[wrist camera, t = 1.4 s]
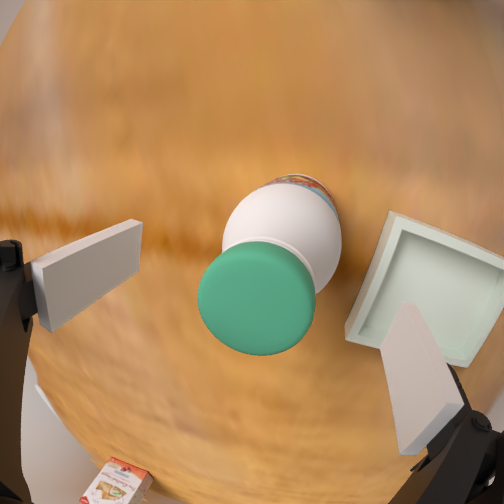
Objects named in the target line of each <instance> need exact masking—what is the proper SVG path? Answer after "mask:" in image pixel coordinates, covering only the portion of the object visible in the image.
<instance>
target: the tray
mask: <svg viewBox="0 0 504 504" xmlns="http://www.w3.org/2000/svg"><path fill="white" fill-rule="evenodd" d="M403 301H405V302H408V303H412V304H415V305H417V307H418V309H419V311H420V313H421V314H422V316H423V318H424V320H425V322H426V324H427V326H428V327H429V329H430V331H431V333H432V335H433V337H434V339H435V341H436V343H437V345H438V347H439V349H440V351H441V353H442V355H443V357H444V359H445V361H446V363H448V364H450V365H455V366H460V367H466V368H468V366H469V365H470V363H471V362H472V360H473V359H474V357H475V356H476V354H477V353H478V351H479V349H480V348H481V346H482V345H483V343H484V341H485V340H486V338H487V336H488V335H489V333H490V331H491V329H492V328H493V326H494V324H495V322H496V320H497V319H498V317H499V315H500V313H501V311H502V309H503V307H504V257H502V256H500V255H498V254H496V253H494V252H492V251H490V250H487V249H485V248H483V247H481V246H479V245H476V244H474V243H472V242H470V241H467V240H465V239H463V238H460V237H458V236H456V235H453V234H451V233H449V232H446V231H444V230H441V229H439V228H436V227H434V226H431V225H429V224H426V223H424V222H421V221H418V220H416V219H413V218H410V217H408V216H405V215H402V214H400V213H397V212H394V211H391V210H389V212H388V215H387V218H386V221H385V224H384V227H383V230H382V233H381V236H380V239H379V241H378V244H377V247H376V250H375V252H374V255H373V258H372V260H371V263H370V266H369V268H368V271H367V273H366V276H365V278H364V281H363V283H362V286H361V288H360V291H359V293H358V295H357V298H356V300H355V303H354V305H353V307H352V309H351V312H350V314H349V316H348V318H347V321H346V323H345V325H344V327H345V340H346V341H350V342H354V343H358V344H362V345H366V346H370V347H374V348H378V349H380V346H381V344H382V342H383V340H384V338H385V336H386V334H387V332H388V331H389V329H390V327H391V325H392V323H393V321H394V319H395V317H396V315H397V313H398V311H399V308H400V306H401V304H402V302H403Z"/></svg>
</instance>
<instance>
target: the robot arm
mask: <svg viewBox="0 0 504 504" xmlns="http://www.w3.org/2000/svg"><path fill="white" fill-rule="evenodd" d="M142 228H143V222H139V221H136V220H133V219H130V220H127V221H125V222H122V223H119V224H117V225H114V226H112V227H109V228H107V229H104V230H102V231H99V232H97V233H94V234H92V235H89V236H87V237H84V238H82V239H80V240H77V241H75V242H73V243H70V244H68V245H66V246H63V247H61V248H59V249H57V250H54V251H52V252H50V253H48V254H45V255H43V256H41V257H39V258H37V259H35V260H32V261H30V262H28V263H26V264H24V262H23V252H22V244H21V242H19V241H17V240H4V241H0V504H34V503H32V502H31V496H30V492H29V488H28V485H27V483H26V481H25V479H24V477H23V473H22V467H21V408H22V393H23V384H24V375H25V367H26V360H27V354H28V348H29V342H30V337H31V332H32V327H33V318H32V316H33V315H34V314H36V313H37V312H38V317H39V322H40V325H41V326H42V327H44V328H45V329H47V330H48V331H50V332H51V333H53V332H54V331H55V330H57V329H58V328H59V327H61V326H62V325H64V324H65V323H66V322H68V321H69V320H70V319H72V318H73V317H74V316H76V315H77V314H79V313H80V312H81V311H83V310H84V309H86V308H87V307H88V306H90V305H91V304H93V303H94V302H95V301H97V300H98V299H100V298H101V297H102V296H104V295H105V294H107V293H108V292H110V291H111V290H112V289H114V288H115V287H117V286H118V285H120V284H121V283H123V282H124V281H126V280H127V279H128V278H130V277H131V276H133V275H134V274H136V273H137V272H139V263H140V250H141V239H142ZM380 351H381V356H382V360H383V364H384V369H385V374H386V378H387V383H388V388H389V393H390V399H391V404H392V410H393V416H394V422H395V428H396V435H397V442H398V449H399V455H414V456H416V455H417V454H419V453H420V452H421V451H422V450H423V449H424V448H425V447H426V446H427V450H428V455H426V456H425V457H424V458H423V459H422V460H421V461H420V462H419V463H418V464H416V465H415V466H414V467H413V468H412V469H411V470H410V471H411V472H412V471H413V470H414V472H413V473H412V474H411V476H410V477H409V478H408V480H407V481H406V482H405V484H404V485H403V486H402V487H401V489H400V490H399V491H398V492H397V494H396V495H395V496H394V497H393V498H392V500H391V501H390V502H389V503H388V504H504V431H503V432H502V433H499V432H496V431H494V430H492V427H491V423H490V421H489V420H488V418H487V417H486V416H485V415H484V414H482V413H481V412H479V411H475V410H472V409H471V406H470V404H469V401H468V399H467V397H466V394H465V392H464V390H463V389H462V385H461V383H460V382H459V379H458V376H457V374H456V372H455V371H454V370H453V368H452V367H451V366H450V365H449V364H448V363H446V361H445V359H444V357H443V355H442V353H441V351H440V349H439V347H438V345H437V343H436V341H435V339H434V337H433V335H432V333H431V331H430V329H429V327H428V326H427V324H426V322H425V320H424V318H423V316H422V314H421V313H420V311H419V309H418V307H417V305H415V304H412V303H408V302H405V301H403V302H402V304H401V306H400V308H399V311H398V313H397V315H396V317H395V319H394V321H393V323H392V325H391V327H390V329H389V331H388V332H387V334H386V336H385V338H384V340H383V342H382V344H381V346H380ZM494 476H495V478H494V481H493V483H492V484H491V485H489V486H488V484H489V480H490V479H491V478H492V477H494Z"/></svg>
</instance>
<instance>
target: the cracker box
mask: <svg viewBox="0 0 504 504" xmlns="http://www.w3.org/2000/svg"><path fill="white" fill-rule="evenodd" d="M153 480H154V479H153V478H152V477H151V475H150V474H149V473H148V471H145V470H142V469H139V468H137V467H134V466H132V465H129V464H127V463H125V462H122V461H120V460H118V459H116V458H113V457H111V458H110V459H109V461H108V462H107V463H106V465H105V466H104V467H103V469H102V470H101V471H100V473H99V474H98V476H97V477H96V478H95V480H94V481H93V482H92V484H91V485H90V486H89V488H88V489H87V490H86V492H85V493H84V495H83V496H82V497H81V499H80V500H79V501H80V502H81V503H82V504H140V503H141V501H142V499H143V498H144V496H145V494H146V492H147V491H148V489H149V487H150V486H151V484H152V482H153Z"/></svg>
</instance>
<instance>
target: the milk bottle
mask: <svg viewBox="0 0 504 504" xmlns="http://www.w3.org/2000/svg"><path fill="white" fill-rule="evenodd" d="M341 247H342V238H341V228H340V223H339V219H338V214H337V211H336V207H335V204H334V201H333V198H332V196H331V194H330V193H329V191H328V190H327V188H326V187H325V186H324V185H323V184H322V183H321V182H319V181H318V180H316V179H315V178H312V177H310V176H307V175H303V174H289V175H284V176H281V177H279V178H277V179H275V180H273V181H271V182H269V183H267V184H265V185H263V186H261V187H260V188H258V189H256V190H255V191H253V192H252V193H251V194H249V195H248V196H247V197H246V198H244V199H243V200H242V201H241V202H240V203H239V205H238V206H237V207H236V208H235V210H234V211H233V213H232V214H231V216H230V218H229V220H228V222H227V225H226V228H225V231H224V236H223V246H222V250H223V252H222V254H220V255H219V256H218V257H217V258H216V259H215V260H214V261H213V262H212V263H211V265H210V266H209V267H208V268H207V270H206V271H205V273H204V275H203V277H202V279H201V282H200V285H199V289H198V307H199V311H200V314H201V317H202V319H203V321H204V323H205V325H206V326H207V328H208V329H209V330H210V332H211V333H212V334H213V335H214V336H215V337H216V338H217V339H218V340H220V341H221V342H222V343H224V344H225V345H227V346H228V347H230V348H232V349H234V350H236V351H239V352H242V353H245V354H250V355H258V356H266V355H273V354H278V353H281V352H284V351H286V350H288V349H290V348H291V347H293V346H294V345H296V344H297V343H298V342H299V341H300V340H301V339H302V338H303V337H304V335H305V334H306V332H307V331H308V329H309V328H310V326H311V323H312V320H313V316H314V311H315V304H316V294H317V293H318V292H319V291H321V290H322V289H323V288H324V287H325V285H326V284H327V283H328V282H329V280H330V279H331V277H332V276H333V274H334V272H335V270H336V268H337V265H338V262H339V259H340V254H341Z"/></svg>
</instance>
